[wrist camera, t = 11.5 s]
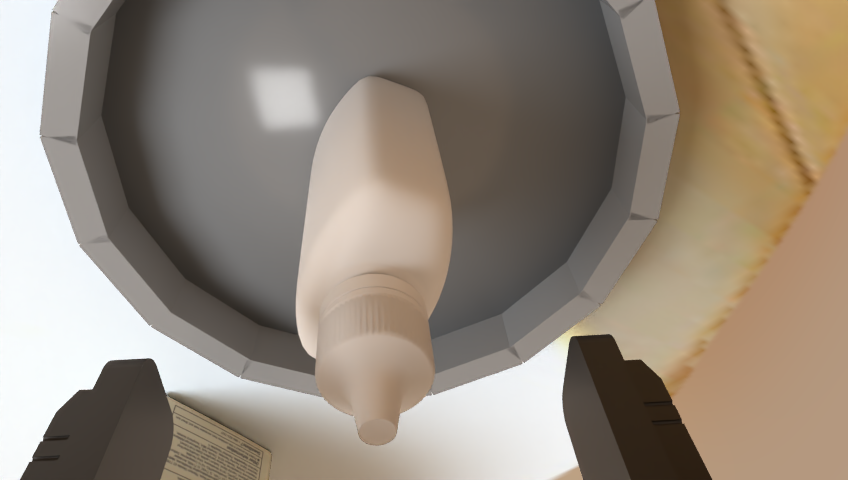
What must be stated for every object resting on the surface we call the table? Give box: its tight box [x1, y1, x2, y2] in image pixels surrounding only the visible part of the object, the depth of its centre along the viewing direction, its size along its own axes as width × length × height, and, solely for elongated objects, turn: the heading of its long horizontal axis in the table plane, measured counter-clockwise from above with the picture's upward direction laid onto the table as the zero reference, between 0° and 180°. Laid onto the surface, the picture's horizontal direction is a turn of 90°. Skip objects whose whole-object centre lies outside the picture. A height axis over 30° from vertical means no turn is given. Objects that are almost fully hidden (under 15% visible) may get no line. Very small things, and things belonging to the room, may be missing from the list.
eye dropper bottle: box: [296, 76, 453, 445], centre depth 17 cm, size 4×6×12 cm
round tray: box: [40, 0, 680, 397], centre depth 22 cm, size 19×19×3 cm
